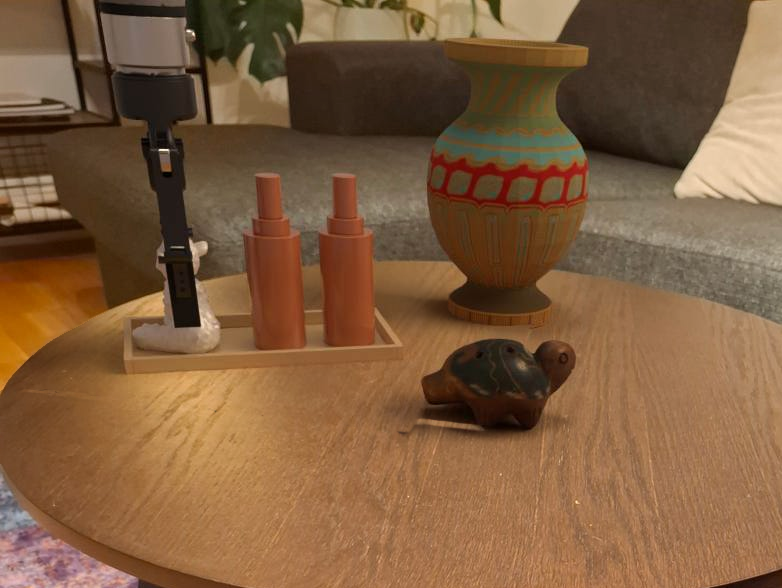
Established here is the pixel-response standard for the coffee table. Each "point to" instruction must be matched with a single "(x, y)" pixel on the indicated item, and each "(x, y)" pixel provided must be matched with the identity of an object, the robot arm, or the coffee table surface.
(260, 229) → the near bottle
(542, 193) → the vase
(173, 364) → the tray
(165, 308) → the sitting furry creature
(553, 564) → the coffee table surface
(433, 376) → the decorative turtle
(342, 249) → the far bottle
